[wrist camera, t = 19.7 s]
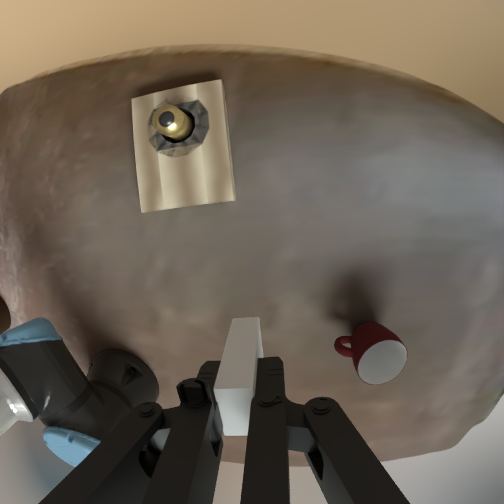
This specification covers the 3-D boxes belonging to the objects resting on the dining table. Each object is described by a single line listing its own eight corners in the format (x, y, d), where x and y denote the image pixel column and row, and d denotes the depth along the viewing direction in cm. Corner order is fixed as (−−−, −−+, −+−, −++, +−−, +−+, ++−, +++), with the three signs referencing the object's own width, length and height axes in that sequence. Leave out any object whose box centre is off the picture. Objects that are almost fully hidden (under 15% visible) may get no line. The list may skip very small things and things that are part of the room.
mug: (326, 355, 49) (337, 389, 39) (330, 313, 47) (343, 343, 38) (382, 350, 49) (401, 381, 39) (389, 310, 47) (412, 336, 37)
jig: (149, 211, 46) (141, 212, 43) (139, 103, 42) (131, 98, 39) (236, 199, 44) (234, 200, 42) (223, 85, 41) (220, 79, 38)
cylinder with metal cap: (173, 144, 43) (153, 136, 35) (169, 120, 42) (150, 109, 34) (197, 138, 43) (183, 129, 35) (194, 114, 42) (179, 101, 34)
